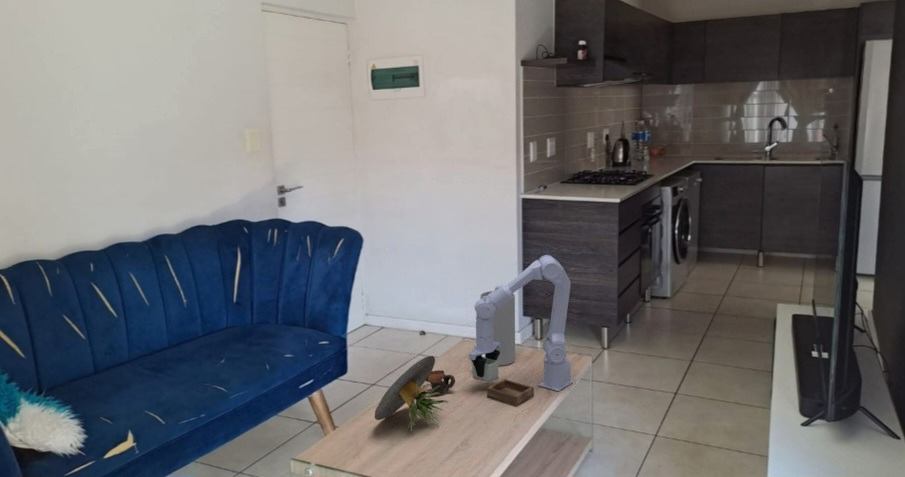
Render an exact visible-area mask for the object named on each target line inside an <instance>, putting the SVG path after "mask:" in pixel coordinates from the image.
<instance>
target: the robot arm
mask: <svg viewBox="0 0 905 477" xmlns="http://www.w3.org/2000/svg"><path fill="white" fill-rule="evenodd" d="M543 277H544V278H545V279H546V280H548V281H550V282H551V283H552V284H553V285H554V293H553V299H552V308H551V314H550V315H551V316H550V321H549V322H550V324H549V331H547V334H546V338H545V340H544V342H543V346H542V349H543V350H544V352H545V355H544V356H543V381H541V382H540V383H538V386H539V387H542V388H546V389H548V390H552V391H556V392H560V391H561V390H563V389H565V388H566V387H569V385H571V384H573V380H572V379H571V374H572V373H571V372H572V368H571V362H570V359H569V358H568V357H567V349H566V338H565V331H566V325H567V323H566V322H567V318H568V317H567V315H568V306H569V300H570V292H571V280H570V278H569V275H568V274H567V272H566V271H565V269H564V267H563V266H562V265H561V264H560V262H559V261H558V260H557V259H555V258H554V256H552V255H549V254H545V255H542V256H540V257H539V259H536V260H535V261H533V262H532V263H531V264H530V265H529V266H528V267H526V268H525V269H524V270H523V271H522V272H521V273H519V274H518V275H517V276H516V277H514V278H513V280H511V281H510V282H508V283H507V284H500V285H496V286H495V287H494V290H491V291H492V292H491V293H490V294H489V295H487V296H486V295H485V296H484V297H483V299H481V298H480V299H478V300H477V301H476V302H475V305H474V310H475V313H476V315H475V316H476V317H475V338H476V340H475V344H476V345H474V347H473V348H474V349H473V350H472V351H471V352H469V353H468V359H469V360H470V361H471V364H472V363H473V364H474V367H475V369H476V373H477V376H478V377H483V376H484V366H485V362H486V360H487V359H485V358H483V357H482V355H484V354H485V357H486V358H488V359H492V360H496V361H497V358H498V356H499V355H500V351H498V350H496V349H497V348H498V349H499V348H501V346H500V342H494V341H493V321H492V317H493V315H494V311H495V310H498V309H499V308H500V307H502V306H503V305H504V304H505V303H507V302H508V301H509V300H511V299H512V295H513V294H515V292H517V291H518V290H519V289H521V288H523V287H524V286H526V285H527V284H529V283H530V282H531V281H533V280H536V281H537V280H538V281H540V280H541V281H542V280H543Z"/></svg>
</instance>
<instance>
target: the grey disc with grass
mask: <svg viewBox="0 0 905 477" xmlns="http://www.w3.org/2000/svg"><path fill="white" fill-rule="evenodd" d="M435 364H436V358H435V356H433V355H430V356H429V355H428V356H426V357H423V358H422V359H420V360H418V361H416V362H415V363H414V364H412V366H410V367H409V368H408V369H407V370H406V371H405V372H403V373H402V374H401V375H400V376H399V377H398V378H397V379H396V380H395V381H394V382H393V383H392V385H391V386H390V387H388V389H387V390H386V392H385V393H384V395H383V396H382V398H381V399H380V401H379V403H378V405H377V406H376V409H375V411H374V419H375V420H376V421H381V420H383V419H386V418H388V417H390V416H391V415H393V414H394V413H396V412H397V411H398V410H400V409H401V408H403V406H404V405H405V404H406V405H407V406H408V407H409V410H408V414H409V415H408V416H409V418H410V420H409V424H408V427H407V431H408V430H409V429H410V431H411V432H413V427H414V426H415V425H416V419H415V417H417V418H418V419H421V416H422V418H423V419H424V420H425V422H426V423H427V426H431V424H430V422H429V421H428V418H429V419H430V420H431V421H432V422H433V423H434V424H435V425H436V427H438V428H440V426H439V424H438V423H437V422H436V421H438V422H439V419H437V417H435V415H436V416H438V417H439V414H436V413H438V411H437V410H441V411H442V410H443V408H441V407H439V406H436V405H440V404H444V403H446V404H448V403H451V402H450V401H448V400H444V399H443V400H441V399H439V400H437V399H434V398H431V397H432V396H431V395H434V396H436V395H435V394H439V392H436V393H433V394H430V393H432V392H433V391H434V390H435V389H437V388H438V387H440V385H439V386H437V387H435V388H434V389H432V390H430V391H427V390H425V389H424V388H422V386H423V384H425V382H426V379H427V378H428V376H429V375H430V373H431V371H433V369H434V367H435ZM433 408H434V409H433ZM435 409H436V410H435ZM419 413H420V414H421V415H420V414H419ZM435 420H436V421H435Z"/></svg>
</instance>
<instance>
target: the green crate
mask: <svg viewBox="0 0 905 477" xmlns="http://www.w3.org/2000/svg"><path fill="white" fill-rule="evenodd" d="M483 358H485V357H483ZM485 359H487V360H486V362H485V366H484V376H483V377H478V376H477V373H476V369H475V367H474V364H473V363H472V362H471V366H472V367H473V369H472V379H475V380H479V381H482V382H485V383H489V384H490V383H492V382H494V381H497V380H498V379H499V366H498V361H496V360H492V359H488V358H485ZM472 367H471V368H472Z"/></svg>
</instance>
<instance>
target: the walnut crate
mask: <svg viewBox="0 0 905 477" xmlns="http://www.w3.org/2000/svg"><path fill="white" fill-rule="evenodd" d="M486 397H487V399H490V400H494V401H497V402H500V403H503V404H507V405H510V406H513V407H518V406H521V405H522V404H524V403H525V402H528V401H529V400H530V399H532V398H534V387H533V386H530V385H526V384H523V383H519V382H517V381H512V380H509V379H505V378H504V379H502V380H501V381H498V382H496V383H494V384H492V385H491V386H488V387H486Z"/></svg>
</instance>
